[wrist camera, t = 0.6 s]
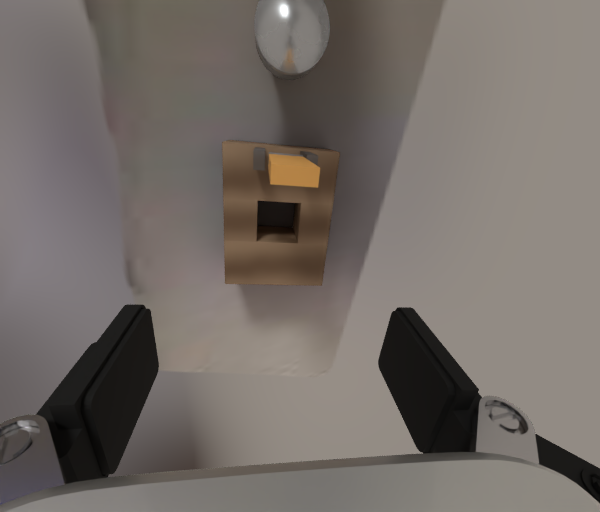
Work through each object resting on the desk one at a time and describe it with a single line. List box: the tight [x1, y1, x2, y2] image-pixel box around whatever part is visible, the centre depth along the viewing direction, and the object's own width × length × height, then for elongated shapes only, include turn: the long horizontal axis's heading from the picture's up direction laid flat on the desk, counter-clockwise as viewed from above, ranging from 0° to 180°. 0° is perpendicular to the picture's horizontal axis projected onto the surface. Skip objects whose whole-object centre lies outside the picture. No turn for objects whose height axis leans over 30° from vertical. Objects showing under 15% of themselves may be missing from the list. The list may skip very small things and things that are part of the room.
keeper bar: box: [268, 152, 320, 188], centre depth 21 cm, size 9×3×1 cm
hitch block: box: [222, 140, 340, 286], centre depth 32 cm, size 16×12×11 cm
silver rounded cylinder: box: [254, 0, 330, 80], centre depth 26 cm, size 6×6×9 cm
